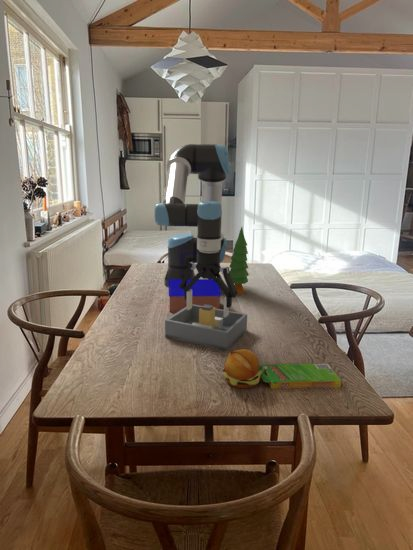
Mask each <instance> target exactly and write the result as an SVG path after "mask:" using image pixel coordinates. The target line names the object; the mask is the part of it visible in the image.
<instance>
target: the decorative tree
mask: <svg viewBox="0 0 413 550" xmlns="http://www.w3.org/2000/svg"><path fill="white" fill-rule="evenodd" d="M247 247H248V243H247V240H246V238H245V235H244V229H243V226H241V228H240V230H239V232H238V236H237V239H236V241H235V243H234V247H233V249H232V250H233V253H232V255H231V257H230V260H231V262H230V264H229V266H228V267H229V271H230V276H231V278H232V280H233V283H234V285H235V288H236V290H237V293H238V295H243V294H245V293H246V291H245V289H244V286H243V285H245V284H247V283H248V282H249V280H248V276H249V275H250V274H249V272H248V270H247V269H249V266H248V265H249V264H248V263H247V261H248V257H247V255H248V254H249V253H248V252H249V251H248V248H247Z"/></svg>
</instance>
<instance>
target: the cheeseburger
mask: <svg viewBox="0 0 413 550" xmlns="http://www.w3.org/2000/svg"><path fill="white" fill-rule="evenodd" d="M262 365H263V364H260V360H259V359H258V357H257V355H256V354H255V352H252V350H249V349H245V348H244V349H237V350H233V351H230V353H229V354H228V356H227V357H226V360H225V363H224V367H223V369H222V372H223V376H224V378H225V381H226V382H227V384H229V385H230V386H232V387H235V388H238V389H239V388H241V389H248V388H249V389H250V388H254V387H256V386H257V385H258V384H259V383H260V381H261V373H262V368H263V366H262Z"/></svg>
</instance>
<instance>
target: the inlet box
mask: <svg viewBox="0 0 413 550" xmlns="http://www.w3.org/2000/svg"><path fill="white" fill-rule="evenodd" d="M201 307H202V306H199V305H193V304H192V308H191V309H190V310H187V307H185V308H183V309H182V310H180V311H179V312H175V313H174V314H172V315H171V316H169V317H168V318H165V320H164V337H165V338H168V339H171V340H176V341H180V342H184V343H185V342H186V343H190V344H194V345H198V346H203V347H208V348H212V349H217V350H222V351H229V350H230V349H231V347H232V346H233V345H234V344H235V343H236V342H237V341H238V340H239V339H240V338H241V337H242V336H243V335H244V334H245V333H246V332H247V331H248V329H247V328H248V314H247V313H242V312H237V311H233V310H232V311H231V310H229V315H228V316H227V317H226V318H225V317H223V315H224V309H221V308H220V309H215V329H213V326H210V325H205V324H200V323H199V309H200V308H201Z"/></svg>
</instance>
